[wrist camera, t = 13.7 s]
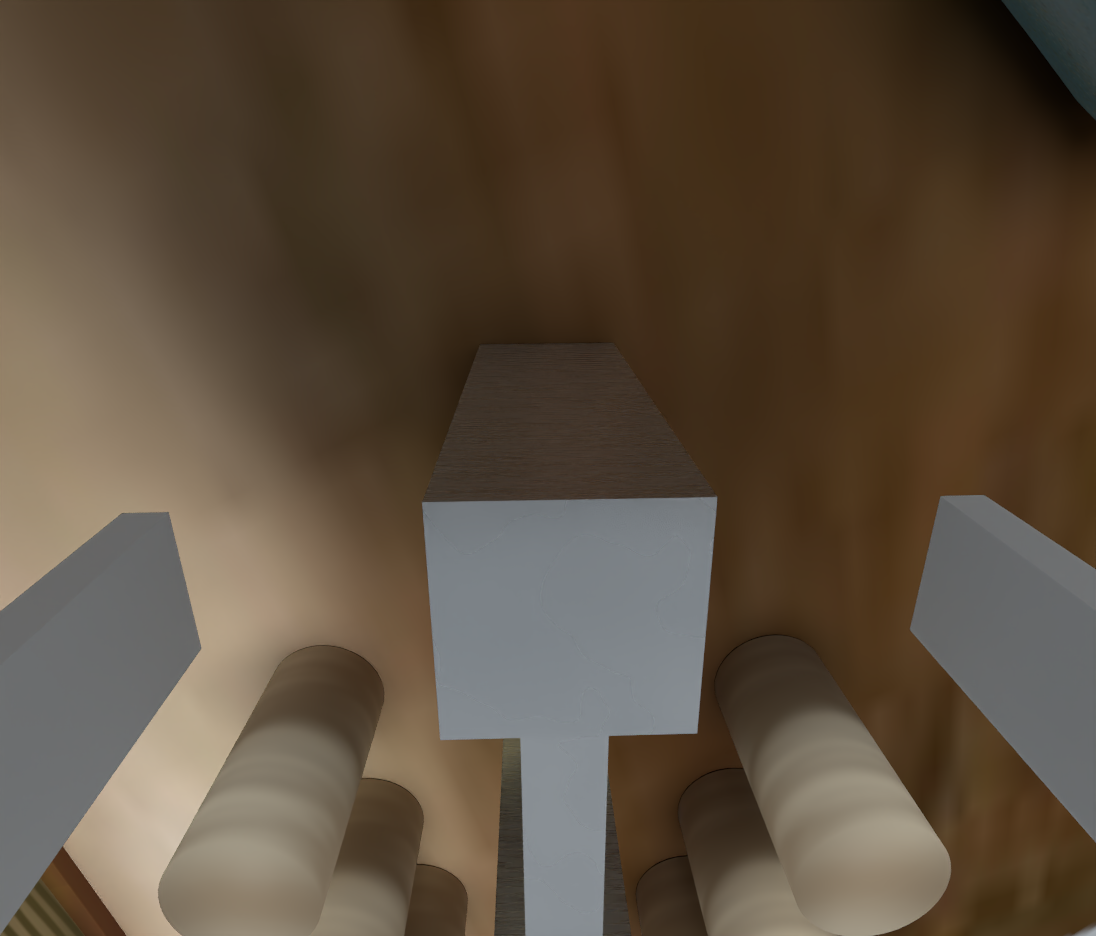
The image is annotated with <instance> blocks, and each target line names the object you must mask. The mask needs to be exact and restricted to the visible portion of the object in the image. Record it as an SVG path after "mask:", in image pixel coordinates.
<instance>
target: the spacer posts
mask: <svg viewBox="0 0 1096 936" xmlns="http://www.w3.org/2000/svg"><path fill="white" fill-rule="evenodd" d="M715 695H716V698H717V701H718V704H719V706H720V709H721V712H722V714H723V717H724V719H725V722H726V724H727V727H728V729H729V732H730V735H731V737H732V740H733V742H734V745H735V747H736V750H737V752H738V755H739V758H740V760H741V763H742V765H743V768H744V769H724V770H719V771H715V772H712V773H710V774H707V775H705V776H703V777H701V778H699V779H698V780H697V781H695V782H694V783H693V784H692V785H690V786H689V787H688V789H687V790H686V791H685V792H684V794H683V795H682V797H681V799H680V802H679V806H678V818H679V823H680V827H681V831H682V835H683V839H684V843H685V847H686V851H687V855H688V856H685V857H677V858H672V859H668V860H666V861H663V862H661V863H659V864H657V865H655V866H654V867H652V868H651V869H650V870H648V871H647V872H646V873H645V874H644V875H643V877H642V878H641V879H640V881H639V883H638V886H637V889H636V901H637V907H638V914H639V920H640V926H641V933H642V936H839V935H842V936H873V935H879V934H883V933H887V932H891V931H893V930H896V929H899V928H901V927H904V926H906V925H908V924H910V923H912V922H913V921H915V920H917V919H918V918H920V917H921V916H923V915H924V914H925V913H926V912H928V911H929V910H930V909H931V908H932V907H933V906H934V905H935V904H936V903H937V902H938V900H939V899H940V898H941V896H942V895H943V893H944V891H945V890H946V888H947V885H948V882H949V880H950V874H951V863H950V857H949V855H948V852H947V850H946V849H945V847H944V846H943V844H942V843H941V841H940V839H939V838H938V836H937V835H936V833H935V832H934V830H933V829H932V827H931V826H930V824H929V823H928V821H927V820H926V818H925V817H924V815H923V814H922V812H921V811H920V809H919V808H918V806H917V805H916V803H915V802H914V800H913V799H912V797H911V796H910V794H909V793H908V791H907V789H906V788H905V786H904V785H903V783H902V782H901V780H900V779H899V777H898V776H897V774H896V773H895V771H894V770H893V768H892V767H891V765H890V764H889V762H888V761H887V759H886V758H885V756H884V755H883V753H882V752H881V750H880V749H879V747H878V746H877V744H876V743H875V741H874V739H873V738H872V736H871V735H870V733H869V732H868V730H867V729H866V727H865V726H864V724H863V723H862V721H861V720H860V718H859V717H858V715H857V714H856V712H855V711H854V709H853V708H852V706H851V705H850V703H849V702H848V700H847V699H846V697H845V696H844V694H843V692H842V691H841V689H840V688H839V686H838V685H837V683H836V682H835V680H834V679H833V677H832V676H831V674H830V673H829V671H828V670H827V668H826V667H825V665H824V664H823V662H822V661H821V659H820V658H819V656H818V655H817V653H816V652H815V651H814V650H813V649H812V648H811V647H810V646H809V645H808V644H806V643H804V642H803V641H801V640H798V639H796V638H793V637H789V636H782V635H771V636H764V637H759V638H756V639H753V640H750V641H748V642H746V643H744V644H742V645H741V646H739V647H738V648H736V649H735V650H733V651H732V652H731V653H730V654H729V655H728V656H727V657H726V659H725V660H724V661H723V663H722V664H721V666H720V668H719V670H718V672H717V675H716V678H715ZM383 702H384V690H383V685H382V682H381V679H380V678H379V676H378V674H377V672H376V671H375V670H374V668H373V667H372V666H371V665H370V664H369V663H368V662H367V661H365V660H364V659H363V658H361V657H360V656H358V655H357V654H355V653H353V652H350V651H348V650H345V649H342V648H338V647H332V646H313V647H308V648H304V649H301V650H299V651H296V652H294V653H293V654H291V655H289V656H288V657H287V658H285V659H284V660H283V661H282V662H281V663H280V665H279V666H278V667H277V669H276V671H275V672H274V674H273V676H272V678H271V680H270V681H269V683H268V685H267V687H266V689H265V691H264V692H263V694H262V696H261V698H260V700H259V701H258V703H257V705H256V707H255V709H254V710H253V712H252V714H251V716H250V718H249V719H248V721H247V723H246V725H245V727H244V729H243V730H242V732H241V734H240V736H239V738H238V739H237V741H236V743H235V745H234V747H233V748H232V750H231V752H230V754H229V756H228V757H227V759H226V761H225V763H224V765H223V767H222V768H221V770H220V772H219V774H218V776H217V777H216V779H215V781H214V783H213V785H212V786H211V788H210V790H209V792H208V794H207V795H206V797H205V799H204V801H203V803H202V805H201V806H200V808H199V810H198V812H197V814H196V815H195V817H194V819H193V821H192V823H191V824H190V826H189V828H188V830H187V832H186V833H185V835H184V837H183V839H182V841H181V843H180V844H179V846H178V848H177V850H176V852H175V853H174V855H173V857H172V859H171V861H170V862H169V864H168V866H167V868H166V870H165V871H164V873H163V875H162V878H161V880H160V883H159V888H158V898H159V903H160V907H161V909H162V912H163V914H164V916H165V917H166V919H167V920H168V922H169V923H170V924H171V926H172V927H173V928H174V929H175V930H176V931H177V932H178V933H180V934H181V935H182V936H465V926H466V914H467V901H468V898H467V893H466V890H465V888H464V887H463V885H462V884H461V882H460V881H459V880H458V879H457V878H456V877H454V876H453V875H452V874H450V873H448V872H447V871H444V870H442V869H440V868H436V867H433V866H427V865H416V864H417V858H418V852H419V846H420V840H421V835H422V829H423V823H424V817H423V812H422V809H421V807H420V805H419V803H418V802H417V800H416V799H415V798H414V797H413V796H412V795H411V794H410V793H409V792H408V791H407V790H405V789H404V788H402V787H400V786H398V785H396V784H394V783H391V782H388V781H384V780H378V779H361V777H362V774H363V770H364V767H365V764H366V760H367V757H368V753H369V750H370V747H371V743H372V740H373V736H374V733H375V730H376V726H377V723H378V720H379V716H380V713H381V709H382V706H383Z"/></svg>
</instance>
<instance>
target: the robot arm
mask: <svg viewBox="0 0 1096 936" xmlns="http://www.w3.org/2000/svg"><path fill="white" fill-rule="evenodd" d="M910 631H911V632H912V633H913V634H914V635H915V636H916V637H917V639H918V640H919V641H920V642H921V643H922V644H923V645H924V647H925V648H926V649H927V650H928V651H929V652H930V653H931V655H932V656H933V657H934V658H935V659H936V660H937V661H938V663H939V664H940V665H941V666H942V667H943V668H944V669H945V671H946V672H947V673H948V674H949V675H950V676H951V677H952V679H953V680H954V681H955V682H956V683H957V684H958V685H959V687H960V688H961V689H962V690H963V691H964V692H965V693H966V695H967V696H968V697H969V698H970V699H971V700H972V701H973V703H974V704H975V705H976V706H977V707H978V708H979V709H980V711H981V712H982V713H983V714H984V715H985V716H986V717H987V719H988V720H989V721H990V722H991V723H992V724H993V725H994V727H995V728H996V729H997V730H998V731H999V732H1000V733H1001V735H1002V736H1003V737H1004V738H1005V739H1006V740H1007V741H1008V743H1009V744H1010V745H1011V746H1012V747H1013V748H1014V749H1015V751H1016V752H1017V753H1018V754H1019V755H1020V756H1021V757H1022V759H1023V760H1024V761H1025V762H1026V763H1027V764H1028V765H1029V767H1030V768H1031V769H1032V770H1033V771H1034V772H1035V773H1036V775H1037V776H1038V777H1039V778H1040V779H1041V780H1042V781H1043V783H1044V784H1045V785H1046V786H1047V787H1048V788H1049V789H1050V791H1051V792H1052V793H1053V794H1054V795H1055V796H1056V797H1057V799H1058V800H1059V801H1060V802H1061V803H1062V804H1063V805H1064V807H1065V808H1066V809H1067V810H1068V811H1069V812H1070V813H1071V815H1072V816H1073V817H1074V818H1075V819H1076V820H1077V821H1078V823H1079V824H1080V825H1081V826H1082V827H1083V828H1084V829H1085V831H1086V832H1087V833H1088V834H1089V835H1090V836H1091V837H1092V839H1093V840H1094V841H1095V842H1096V569H1094V568H1093V567H1091V566H1090V565H1088V564H1087V563H1085V562H1084V561H1082V560H1081V559H1079V558H1078V557H1076V556H1075V555H1073V554H1072V553H1070V552H1069V551H1067V550H1066V549H1064V548H1063V547H1061V546H1060V545H1058V544H1057V543H1055V542H1054V541H1052V540H1051V539H1049V538H1048V537H1046V536H1045V535H1043V534H1042V533H1040V532H1039V531H1037V530H1036V529H1034V528H1033V527H1031V526H1030V525H1028V524H1027V523H1025V522H1024V521H1022V520H1021V519H1019V518H1018V517H1016V516H1015V515H1013V514H1012V513H1010V512H1009V511H1007V510H1006V509H1004V508H1003V507H1001V506H1000V505H998V504H997V503H995V502H994V501H992V500H991V499H989V498H988V497H986V496H985V495H969V496H941V497H940V501H939V505H938V510H937V514H936V518H935V523H934V527H933V531H932V536H931V540H930V544H929V549H928V553H927V558H926V562H925V566H924V571H923V575H922V579H921V584H920V588H919V592H918V597H917V601H916V606H915V610H914V614H913V619H912V623H911V627H910ZM200 650H201V645H200V640H199V636H198V632H197V628H196V624H195V620H194V615H193V611H192V607H191V603H190V599H189V595H188V591H187V586H186V582H185V578H184V574H183V570H182V566H181V562H180V557H179V553H178V549H177V545H176V541H175V537H174V533H173V528H172V524H171V520H170V516H169V512H156V513H122V514H120V515H119V516H118V517H117V518H116V519H114V520H113V521H112V522H111V523H109V524H108V525H107V526H106V527H104V528H103V529H102V530H101V531H99V532H98V533H97V534H96V535H94V536H93V537H92V538H91V539H90V540H88V541H87V542H86V543H85V544H83V545H82V546H81V547H80V548H78V549H77V550H76V551H75V552H73V553H72V554H71V555H70V556H68V557H67V558H66V559H65V560H63V561H62V562H61V563H60V564H59V565H57V566H56V567H55V568H54V569H52V570H51V571H50V572H49V573H47V574H46V575H45V576H44V577H42V578H41V579H40V580H39V581H37V582H36V583H35V584H34V585H32V586H31V587H30V588H29V589H28V590H26V591H25V592H24V593H23V594H21V595H20V596H19V597H18V598H16V599H15V600H14V601H13V602H11V603H10V604H9V605H8V606H6V607H5V608H4V609H3V610H2V611H0V935H1V933H2V932H3V930H4V929H5V927H6V926H7V925H8V923H9V922H10V920H11V919H12V917H13V916H14V915H15V913H16V912H17V910H18V909H19V907H20V906H21V905H22V903H23V902H24V900H25V899H26V898H27V896H28V895H29V893H30V892H31V890H32V889H33V888H34V886H35V885H36V883H37V882H38V880H39V879H40V878H41V876H42V875H43V873H44V872H45V870H46V869H47V868H48V866H49V865H50V863H51V862H52V860H53V859H54V858H55V856H56V855H57V853H58V852H59V851H60V849H61V848H62V846H63V845H64V843H65V842H66V841H67V839H68V838H69V836H70V835H71V833H72V832H73V831H74V829H75V828H76V826H77V825H78V823H79V822H80V821H81V819H82V818H83V816H84V815H85V813H86V812H87V811H88V809H89V808H90V806H91V805H92V804H93V802H94V801H95V799H96V798H97V796H98V795H99V794H100V792H101V791H102V789H103V788H104V786H105V785H106V784H107V782H108V781H109V779H110V778H111V776H112V775H113V774H114V772H115V771H116V769H117V768H118V767H119V765H120V764H121V762H122V761H123V759H124V758H125V757H126V755H127V754H128V752H129V751H130V749H131V748H132V747H133V745H134V744H135V742H136V741H137V739H138V738H139V737H140V735H141V734H142V732H143V731H144V729H145V728H146V727H147V725H148V724H149V722H150V721H151V720H152V718H153V717H154V715H155V714H156V712H157V711H158V710H159V708H160V707H161V705H162V704H163V702H164V701H165V700H166V698H167V697H168V695H169V694H170V692H171V691H172V690H173V688H174V687H175V685H176V684H177V682H178V681H179V680H180V678H181V677H182V675H183V674H184V673H185V671H186V670H187V668H188V667H189V665H190V664H191V663H192V661H193V660H194V658H195V657H196V655H197V654H198V653H199V651H200Z"/></svg>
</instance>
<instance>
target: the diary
mask: <svg viewBox="0 0 1096 936" xmlns="http://www.w3.org/2000/svg"><path fill="white" fill-rule="evenodd" d="M0 936H126V935H125V933H124V932H123V930H122V929H121V928H120V926H119V925H118V923H117V922H116V920H115V919H114V918H113V916H112V915H111V913H110V912H109V911H108V909H107V908H106V906H105V905H104V904H103V902H102V901H101V899H100V898H99V897H98V895H97V894H96V892H95V891H94V890H93V888H92V887H91V885H90V884H89V883H88V881H87V880H86V878H85V877H84V876H83V874H82V873H81V871H80V870H79V869H78V867H77V866H76V864H75V863H74V862H73V860H72V859H71V857H70V856H69V855H68V853H67V852H66V850H65V849H64V848H63V846H62V848H61V849H60V851H59V852H58V853H57V855H56V856H55V858H54V859H53V860H52V862H51V863H50V865H49V866H48V868H47V869H46V870H45V872H44V873H43V875H42V876H41V878H40V879H39V880H38V882H37V883H36V885H35V886H34V888H33V889H32V890H31V892H30V893H29V895H28V896H27V898H26V899H25V900H24V902H23V903H22V905H21V906H20V907H19V909H18V910H17V912H16V913H15V915H14V916H13V917H12V919H11V920H10V922H9V923H8V925H7V926H6V927H5V929H4V930H3V932H2V933H1V935H0Z"/></svg>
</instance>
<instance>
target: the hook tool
mask: <svg viewBox="0 0 1096 936" xmlns="http://www.w3.org/2000/svg"><path fill="white" fill-rule="evenodd" d="M422 507H423V520H424V533H425V546H426V559H427V572H428V585H429V598H430V611H431V625H432V638H433V651H434V664H435V677H436V690H437V703H438V716H439V729H440V740H459V739H498V738H503V757H502V779H501V801H500V823H499V845H498V866H497V888H496V910H495V932H494V936H631V930H630V923H629V916H628V909H627V902H626V895H625V888H624V882H623V875H622V868H621V861H620V854H619V847H618V840H617V833H616V826H615V819H614V812H613V805H612V798H611V791H610V784H609V778H608V740H609V736H616V735H655V734H694V733H697V729H698V717H699V706H700V694H701V682H702V671H703V659H704V647H705V635H706V624H707V612H708V600H709V589H710V577H711V565H712V554H713V542H714V530H715V519H716V507H717V496H716V494H715V493H714V491H713V490H712V488H711V487H710V485H709V484H708V483H707V481H706V480H705V478H704V477H703V475H702V474H701V472H700V471H699V469H698V468H697V466H696V465H695V463H694V462H693V460H692V459H691V457H690V456H689V454H688V453H687V451H686V450H685V448H684V447H683V445H682V444H681V442H680V441H679V439H678V438H677V437H676V435H675V434H674V432H673V431H672V429H671V428H670V426H669V425H668V423H667V422H666V420H665V419H664V417H663V416H662V414H661V413H660V411H659V410H658V408H657V407H656V405H655V404H654V402H653V401H652V399H651V398H650V396H649V395H648V393H647V392H646V390H645V389H644V388H643V386H642V385H641V383H640V382H639V380H638V379H637V377H636V376H635V374H634V373H633V371H632V370H631V368H630V367H629V365H628V364H627V362H626V361H625V359H624V358H623V356H622V355H621V353H620V352H619V350H618V349H617V347H616V346H615V344H614V343H559V344H480V346H479V348H478V351H477V354H476V357H475V359H474V362H473V365H472V368H471V370H470V373H469V376H468V378H467V381H466V384H465V387H464V389H463V392H462V395H461V398H460V400H459V403H458V406H457V409H456V411H455V414H454V417H453V419H452V422H451V425H450V428H449V430H448V433H447V436H446V439H445V441H444V444H443V447H442V449H441V452H440V455H439V458H438V460H437V463H436V466H435V469H434V471H433V474H432V477H431V479H430V482H429V485H428V488H427V490H426V493H425V496H424V499H423V501H422Z"/></svg>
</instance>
